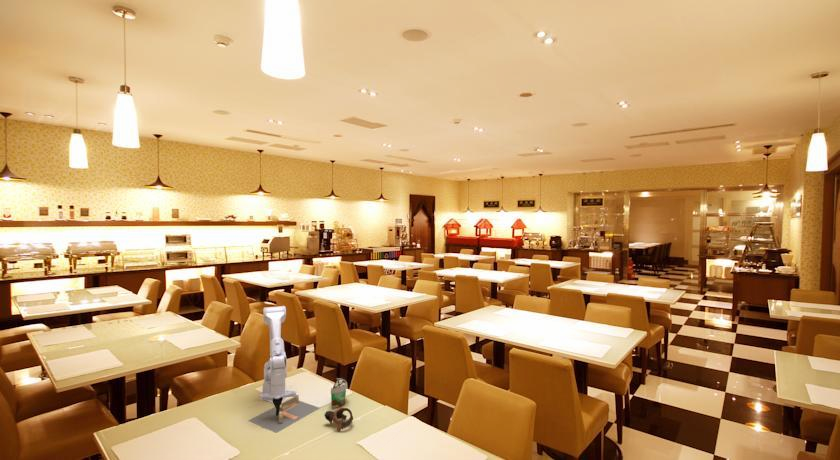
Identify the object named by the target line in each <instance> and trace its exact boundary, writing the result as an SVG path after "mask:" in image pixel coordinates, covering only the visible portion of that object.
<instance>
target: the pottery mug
mask: <svg viewBox="0 0 840 460" xmlns="http://www.w3.org/2000/svg"><path fill="white" fill-rule="evenodd" d="M344 412H348V414H349V418H348V419H347V417H348V416H347V415H346V414H344ZM323 416H324V419H326V420H327V421H328V422H329V423H330V424H331V425H332V424H333V423H335V424H336V425H337V427H336V430H335V431H338V432H341V430H343V429H346V428H347V427H349V426H350V425H351V424H352V423H353V420H354V416H353V413H352V411H351V409H350V408H348V407H343V406H342V407H339V408H336V410H335V411H332V410H327V411H326V412H325V413H324V414H323ZM340 420H344V421H341V422H340Z"/></svg>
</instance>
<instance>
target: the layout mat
mask: <svg viewBox="0 0 840 460" xmlns="http://www.w3.org/2000/svg"><path fill="white" fill-rule="evenodd" d="M319 409H320V407H318V406H315V405H313V404H310V403H307V402H304V401H301V400H299V404H296V405H294V406H292V407H291V408H289V409H287V410H285V411H283V412H282V414H283V423H279V416H276V407H275V406H274V407H272V408H270V409H268V410H265V411H264V412H262V413H260V414H258V415H256V416H254V417H252V418H249V419H248V420H247V422H249V423H252V424H254V425H256V426H259V427H261V428H264V429H266V430H268V431H271V432H272V433H276V434H277V433H279V432H281V431H283V430H284V429H286V428H288V427H290V426H291V425H293V424H295V423H296V422H298V421H301V419H304V418H305V417H307V416H309V415H310V414H312V413H314V412H316V411H318V410H319Z"/></svg>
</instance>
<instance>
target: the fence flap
mask: <svg viewBox="0 0 840 460" xmlns="http://www.w3.org/2000/svg"><path fill="white" fill-rule="evenodd" d="M279 423H283V414H282V405H280V409H279Z"/></svg>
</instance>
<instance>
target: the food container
mask: <svg viewBox="0 0 840 460" xmlns="http://www.w3.org/2000/svg"><path fill="white" fill-rule="evenodd" d="M348 388H349V387H348V382H347V380H345V379H344V378H341V377H339V378H338V377H336V381H335V382H334V384H333V387H332V388H330V396H331V397H330V399H331V401H330V402H331V403H330V404H331V409H339V408H342V407H343V406H344V405H345V404H346V395H347V393H346V392H347V389H348Z"/></svg>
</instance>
